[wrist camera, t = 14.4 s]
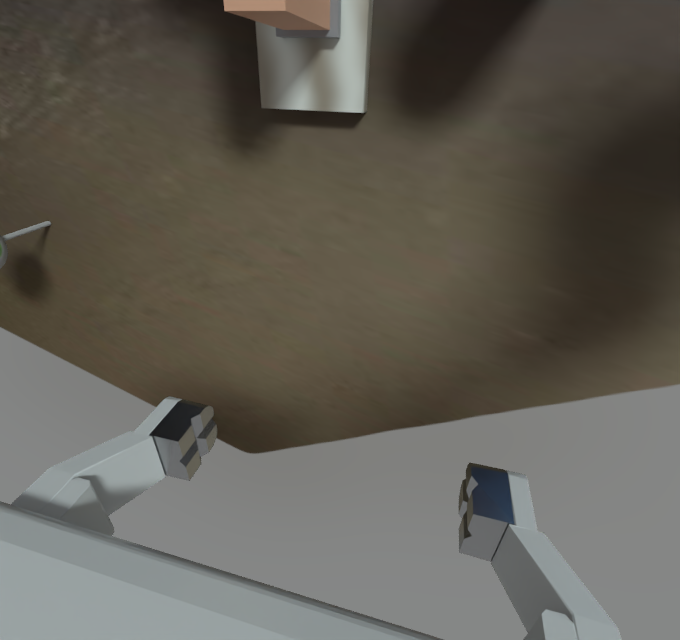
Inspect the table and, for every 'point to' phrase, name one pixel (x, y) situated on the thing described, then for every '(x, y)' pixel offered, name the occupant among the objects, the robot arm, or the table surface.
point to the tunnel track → (318, 65)
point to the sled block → (292, 16)
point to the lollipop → (0, 246)
